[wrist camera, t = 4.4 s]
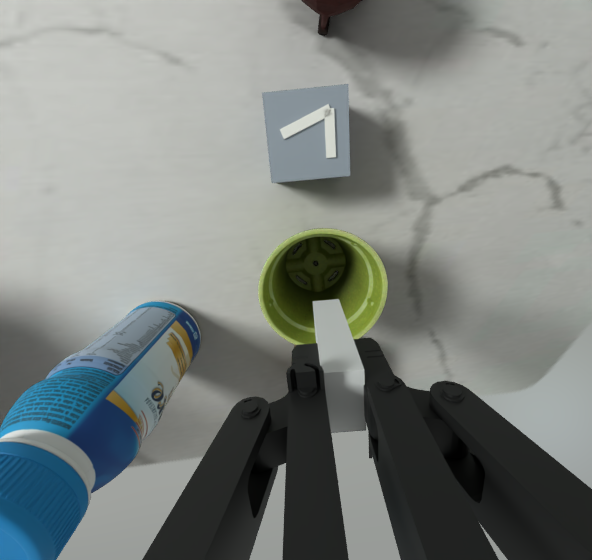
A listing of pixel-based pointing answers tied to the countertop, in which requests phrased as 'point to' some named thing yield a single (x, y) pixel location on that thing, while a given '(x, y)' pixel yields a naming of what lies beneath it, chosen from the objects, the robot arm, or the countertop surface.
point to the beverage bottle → (87, 426)
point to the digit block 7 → (308, 133)
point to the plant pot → (322, 283)
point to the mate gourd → (329, 10)
